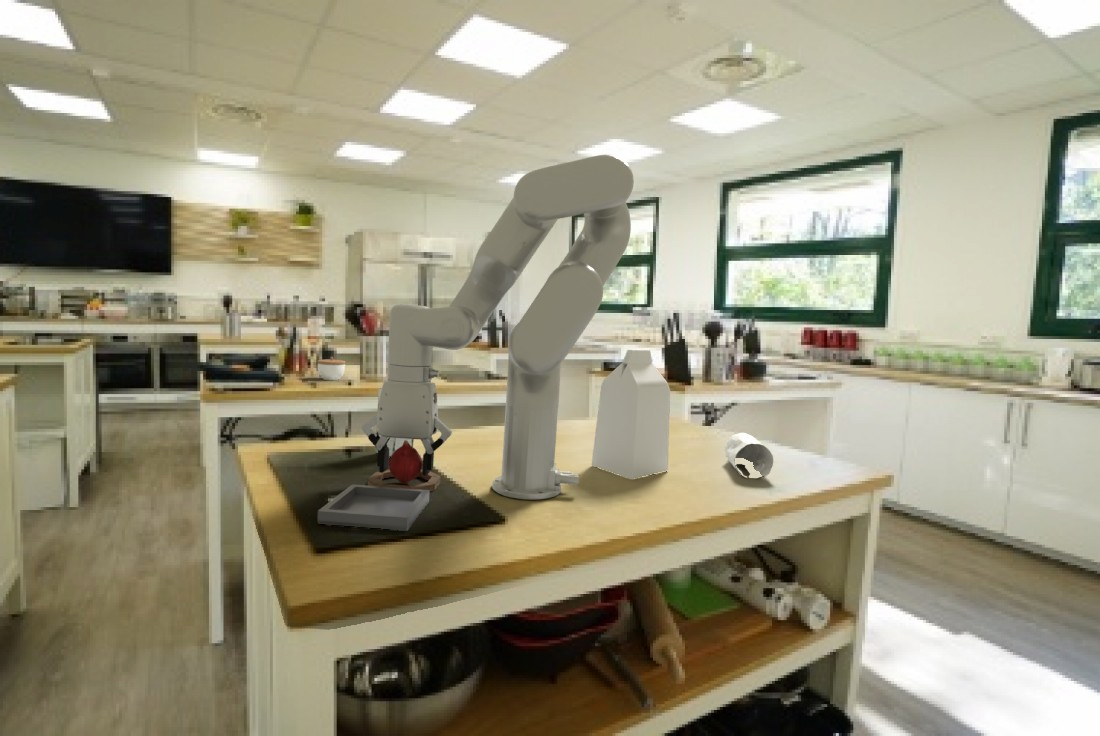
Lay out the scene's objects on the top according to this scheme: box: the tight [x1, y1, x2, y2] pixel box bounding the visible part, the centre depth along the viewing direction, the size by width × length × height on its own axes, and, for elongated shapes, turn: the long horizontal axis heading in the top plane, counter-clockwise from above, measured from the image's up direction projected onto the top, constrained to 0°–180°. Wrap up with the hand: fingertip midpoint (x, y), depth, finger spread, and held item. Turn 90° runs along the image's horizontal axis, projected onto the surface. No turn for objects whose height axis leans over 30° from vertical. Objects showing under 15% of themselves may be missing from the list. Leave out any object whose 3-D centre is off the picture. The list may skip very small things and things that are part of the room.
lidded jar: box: [317, 356, 346, 381], centre depth 234 cm, size 11×11×9 cm
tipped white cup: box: [724, 432, 774, 478], centre depth 131 cm, size 8×19×8 cm, turn 173°
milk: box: [591, 349, 671, 480], centre depth 123 cm, size 12×12×26 cm
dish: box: [316, 483, 431, 532], centre depth 88 cm, size 13×13×2 cm
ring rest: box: [367, 469, 442, 492], centre depth 103 cm, size 12×12×1 cm
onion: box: [388, 440, 423, 485], centre depth 103 cm, size 6×6×8 cm
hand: (405, 471), depth 103 cm, fingers open, 7 cm apart
